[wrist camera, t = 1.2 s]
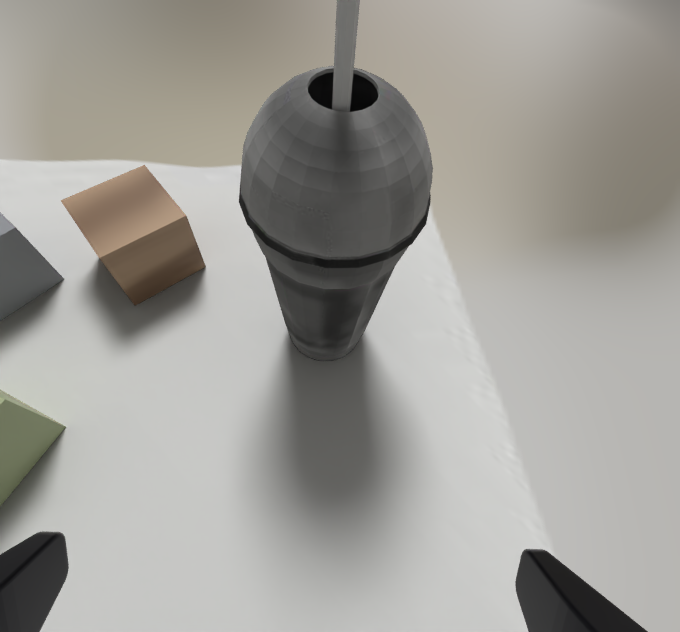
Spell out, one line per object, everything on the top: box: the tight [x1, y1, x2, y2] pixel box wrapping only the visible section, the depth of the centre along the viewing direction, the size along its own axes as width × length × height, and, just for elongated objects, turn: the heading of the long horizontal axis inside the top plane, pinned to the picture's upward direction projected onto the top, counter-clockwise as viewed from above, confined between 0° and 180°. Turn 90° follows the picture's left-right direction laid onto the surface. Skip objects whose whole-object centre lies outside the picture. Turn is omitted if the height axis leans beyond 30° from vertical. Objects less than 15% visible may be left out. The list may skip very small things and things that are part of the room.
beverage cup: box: [239, 0, 433, 361], centre depth 17 cm, size 7×7×20 cm
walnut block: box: [61, 165, 206, 306], centre depth 25 cm, size 5×5×5 cm
